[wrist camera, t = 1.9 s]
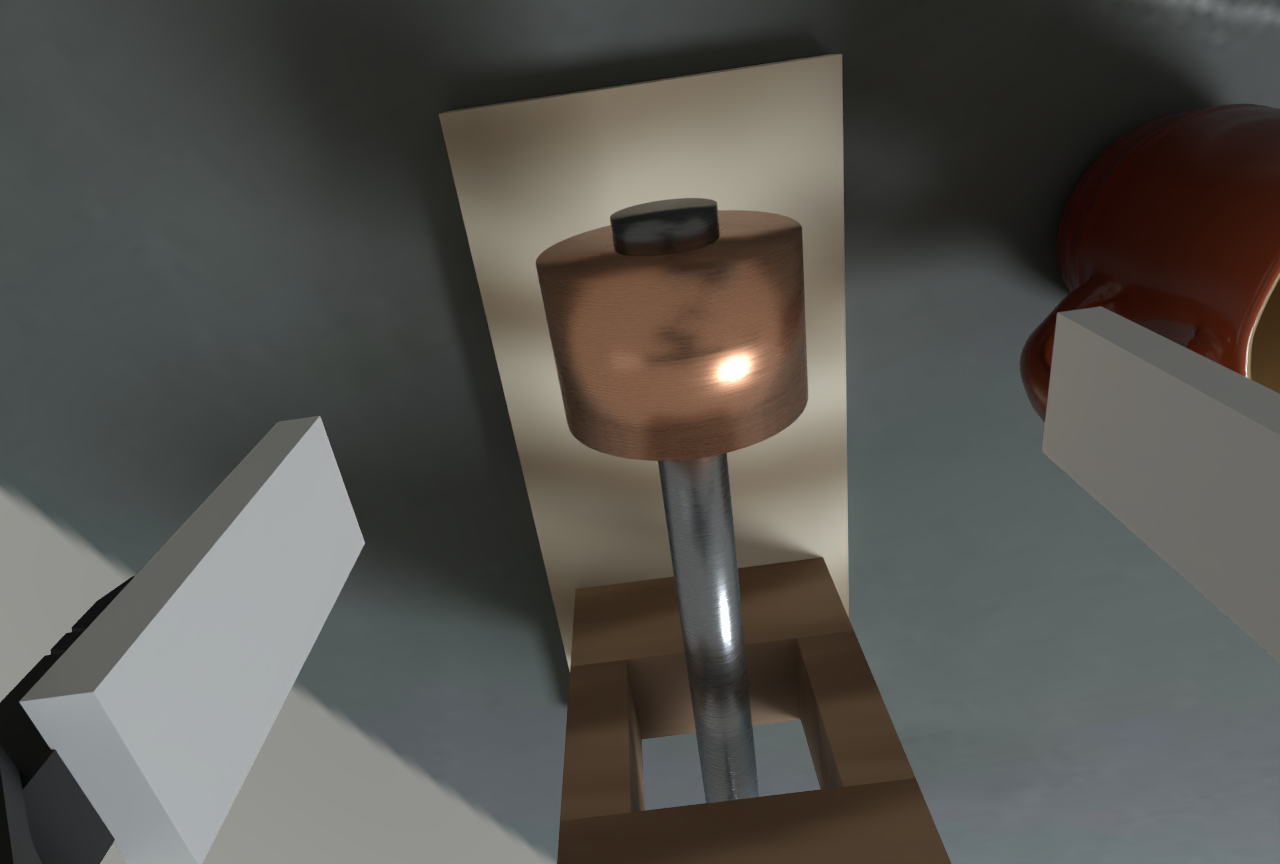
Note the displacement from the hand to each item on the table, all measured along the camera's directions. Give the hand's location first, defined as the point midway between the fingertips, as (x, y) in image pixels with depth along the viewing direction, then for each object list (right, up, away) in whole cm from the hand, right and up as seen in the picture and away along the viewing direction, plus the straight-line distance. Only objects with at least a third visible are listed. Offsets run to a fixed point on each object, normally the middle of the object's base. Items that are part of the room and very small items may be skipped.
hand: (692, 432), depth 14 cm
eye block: (+2, -7, +18) cm, 19 cm away
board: (+1, -1, +16) cm, 16 cm away
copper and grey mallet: (+1, -4, +11) cm, 12 cm away
